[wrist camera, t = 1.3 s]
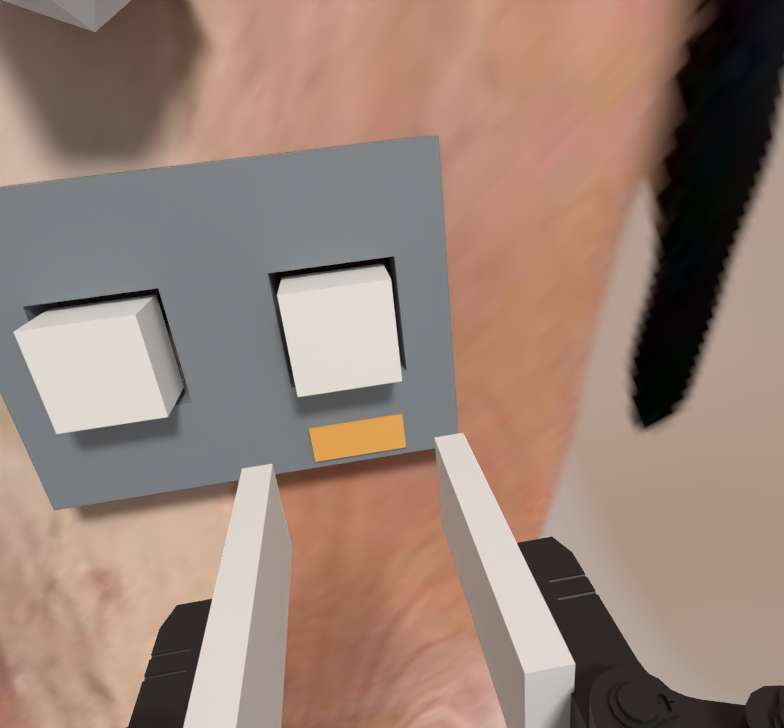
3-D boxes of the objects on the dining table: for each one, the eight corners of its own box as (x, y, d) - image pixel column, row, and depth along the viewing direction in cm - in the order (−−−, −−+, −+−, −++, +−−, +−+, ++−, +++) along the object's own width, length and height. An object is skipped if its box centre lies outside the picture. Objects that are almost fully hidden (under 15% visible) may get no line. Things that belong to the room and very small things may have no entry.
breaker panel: (77, 477, 31) (52, 512, 28) (-43, 192, 25) (-92, 199, 22) (447, 418, 33) (459, 446, 30) (426, 135, 26) (439, 135, 23)
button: (84, 402, 27) (56, 433, 24) (48, 308, 25) (13, 331, 22) (183, 387, 28) (167, 417, 25) (156, 294, 26) (135, 315, 23)
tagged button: (299, 369, 28) (297, 397, 25) (281, 277, 26) (277, 295, 23) (393, 355, 28) (402, 381, 26) (383, 263, 26) (391, 279, 23)
